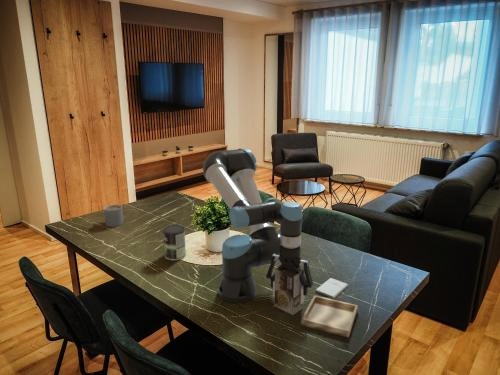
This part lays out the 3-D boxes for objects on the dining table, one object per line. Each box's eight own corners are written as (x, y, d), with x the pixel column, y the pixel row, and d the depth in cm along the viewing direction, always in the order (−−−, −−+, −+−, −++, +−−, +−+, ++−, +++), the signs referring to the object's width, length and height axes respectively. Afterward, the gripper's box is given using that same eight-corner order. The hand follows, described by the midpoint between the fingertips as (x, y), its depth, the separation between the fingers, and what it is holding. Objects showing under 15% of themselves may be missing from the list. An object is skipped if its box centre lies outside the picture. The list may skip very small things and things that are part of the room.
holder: (301, 324, 138) (301, 318, 137) (314, 300, 152) (314, 295, 151) (348, 337, 131) (349, 331, 130) (357, 311, 145) (357, 305, 145)
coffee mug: (126, 223, 228) (125, 207, 226) (110, 228, 222) (108, 211, 219) (115, 217, 238) (114, 202, 235) (100, 222, 231) (98, 206, 228)
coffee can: (165, 261, 183) (164, 234, 179) (163, 252, 192) (161, 226, 188) (187, 258, 186) (186, 231, 182) (184, 249, 195) (183, 223, 191)
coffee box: (303, 308, 147) (304, 270, 143) (292, 315, 143) (294, 276, 138) (284, 299, 153) (285, 262, 148) (273, 306, 149) (274, 268, 144)
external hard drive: (315, 293, 159) (330, 280, 168) (333, 300, 154) (347, 287, 163) (315, 289, 158) (330, 277, 167) (333, 296, 153) (347, 283, 162)
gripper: (257, 242, 142) (256, 296, 148) (318, 254, 133) (315, 311, 139) (265, 235, 148) (264, 286, 155) (324, 246, 139) (320, 300, 146)
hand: (288, 298), depth 147 cm, fingers closed on coffee box, 10 cm apart
